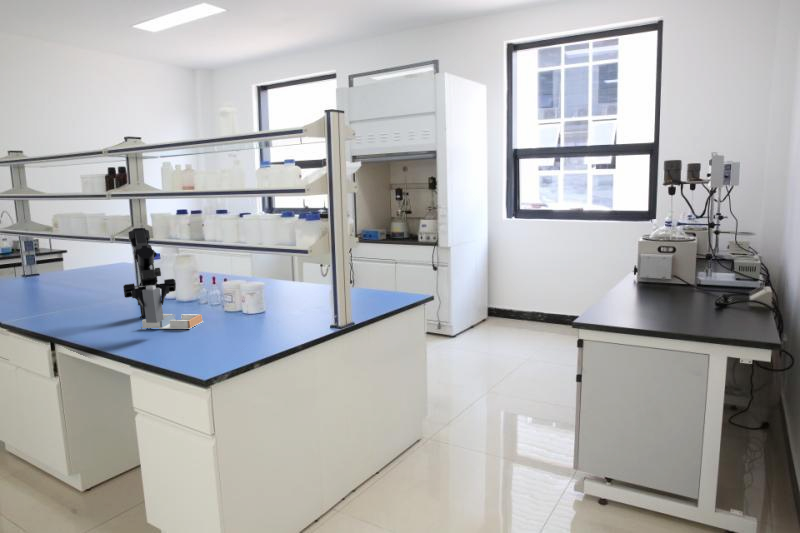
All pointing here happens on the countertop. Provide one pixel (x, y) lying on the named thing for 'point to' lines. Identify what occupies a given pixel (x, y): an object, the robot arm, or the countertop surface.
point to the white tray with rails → (175, 322)
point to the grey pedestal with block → (152, 304)
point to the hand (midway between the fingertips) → (153, 305)
